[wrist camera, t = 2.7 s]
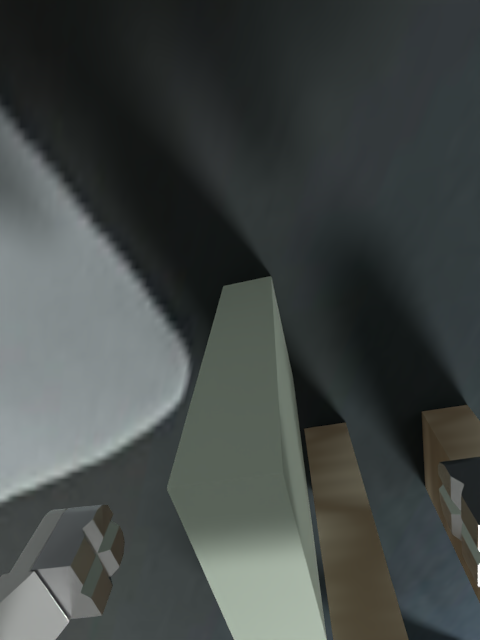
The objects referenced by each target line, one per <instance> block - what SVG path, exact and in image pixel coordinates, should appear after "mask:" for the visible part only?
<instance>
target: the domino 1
mask: <svg viewBox="0 0 480 640" xmlns="http://www.w3.org/2000/svg"><path fill="white" fill-rule="evenodd" d="M167 490H168V492H169V495H170V497H171V499H172V501H173V504H174V506H175V508H176V510H177V513H178V515H179V517H180V519H181V522H182V524H183V526H184V528H185V531H186V533H187V535H188V537H189V540H190V542H191V544H192V546H193V548H194V551H195V553H196V555H197V557H198V560H199V562H200V564H201V566H202V569H203V571H204V573H205V575H206V578H207V580H208V582H209V584H210V587H211V589H212V591H213V593H214V596H215V598H216V600H217V602H218V605H219V607H220V609H221V611H222V614H223V616H224V618H225V620H226V623H227V625H228V627H229V629H230V632H231V634H232V636H233V638H234V640H327V639H326V631H325V623H324V615H323V607H322V599H321V592H320V584H319V576H318V568H317V560H316V552H315V545H314V537H313V529H312V521H311V513H310V505H309V498H308V490H307V482H306V474H305V466H304V459H303V451H302V443H301V435H300V427H299V419H298V412H297V404H296V396H295V388H294V380H293V375H292V370H291V365H290V361H289V356H288V352H287V347H286V342H285V338H284V333H283V328H282V324H281V319H280V315H279V310H278V305H277V301H276V296H275V291H274V287H273V282H272V278H271V276H269V277H264V278H259V279H255V280H250V281H245V282H240V283H236V284H231V285H226V286H223V289H222V293H221V296H220V300H219V303H218V307H217V311H216V314H215V318H214V321H213V325H212V328H211V332H210V336H209V339H208V343H207V346H206V350H205V353H204V357H203V361H202V364H201V368H200V371H199V375H198V379H197V382H196V386H195V389H194V393H193V396H192V400H191V404H190V407H189V411H188V414H187V418H186V421H185V425H184V429H183V432H182V436H181V439H180V443H179V447H178V450H177V454H176V457H175V461H174V464H173V468H172V472H171V475H170V479H169V482H168V486H167Z"/></svg>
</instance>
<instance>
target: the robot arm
mask: <svg viewBox="0 0 480 640" xmlns="http://www.w3.org/2000/svg"><path fill="white" fill-rule="evenodd" d="M438 475H439V477H440V479H441V481H442V483H443V485H442V486H441V487H440V488H439V497H440V503H441V507H442V511H443V515H444V517H445V520H446V522H447V525H448V527H449V529H450V531H451V533H452V535H454V536H455V537H457V538H458V539H459V540H461V541H462V556H463V558H464V560H465V562H466V564H467V566H468V568H469V570H470V572H471V574H472V576H473V578H474V580H475V582H476V584H477V586H478V587H480V457H473V458H465V459H458V460H451V461H444V462H439V465H438ZM112 516H113V513H112V511H111V510H110V508H109V506H108V505H97V506H87V507H76V508H68V509H59V510H51V511H50V512H49V513H47V514H46V515H45V516H44V518H43V519H42V521H41V523H40V524H39V526H38V528H37V529H36V531H35V533H34V534H33V536H32V537H31V539H30V541H29V542H28V544H27V546H26V547H25V549H24V550H23V552H22V554H21V555H20V557H19V559H18V560H17V562H16V563H15V565H14V567H13V568H12V570H11V572H10V573H9V574H3V575H2V576H1V577H0V640H55V639H56V638H57V637H58V635H59V634H60V633H61V632H62V630H63V629H64V628H65V627H66V625H67V624H68V623H69V619H75V618H84V617H93V616H102V614H103V612H104V609H105V606H106V603H107V600H108V598H109V595H110V592H111V589H112V586H113V584H112V581H111V577H110V576H111V575H112V574H113V573H114V572H115V571H116V570H117V569H118V568H119V567H120V563H121V560H122V557H123V554H124V537H123V532H122V530H121V528H120V526H119V525H117V524H115V523H114V522H112V521H111V518H112Z"/></svg>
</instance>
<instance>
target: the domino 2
mask: <svg viewBox="0 0 480 640" xmlns="http://www.w3.org/2000/svg"><path fill="white" fill-rule="evenodd" d="M304 431H305V438H306V446H307V453H308V460H309V467H310V474H311V482H312V489H313V496H314V503H315V511H316V518H317V525H318V532H319V539H320V547H321V554H322V561H323V568H324V575H325V583H326V590H327V597H328V604H329V611H330V619H331V626H332V633H333V640H409V639H408V636H407V633H406V629H405V626H404V622H403V619H402V615H401V612H400V608H399V605H398V602H397V598H396V595H395V591H394V588H393V584H392V581H391V577H390V574H389V571H388V567H387V564H386V560H385V557H384V553H383V550H382V546H381V543H380V539H379V536H378V533H377V529H376V526H375V522H374V519H373V515H372V512H371V508H370V505H369V502H368V498H367V495H366V491H365V488H364V484H363V481H362V477H361V474H360V471H359V467H358V464H357V460H356V457H355V453H354V450H353V446H352V443H351V440H350V436H349V433H348V429H347V426H346V423H339V424H332V425H325V426H318V427H312V428H305V429H304Z"/></svg>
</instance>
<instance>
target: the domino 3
mask: <svg viewBox="0 0 480 640" xmlns="http://www.w3.org/2000/svg"><path fill="white" fill-rule="evenodd" d="M422 430H423V450H424V470H425V487H426V489H427V492H428V494H429V496H430V498H431V500H432V502H433V504H434V506H435V509H436V511H437V513H438V515H439V517H440V519H441V521H442V523H443V526H444V528H445V530H446V532H447V534H448V536H449V538H450V541H451V543H452V545H453V547H454V549H455V551H456V553H457V555H458V558H459V560H460V562H461V564H462V566H463V568H464V570H465V572H466V575H467V577H468V579H469V581H470V583H471V585H472V587H473V589H474V592H475V594H476V596H477V598H478V600H479V602H480V587H478V586H477V584H476V582H475V580H474V578H473V576H472V574H471V572H470V570H469V568H468V566H467V564H466V562H465V560H464V558H463V556H462V541H461V540H459V539H458V538H457V537H455V536H454V535H452V533H451V531H450V529H449V527H448V525H447V522H446V520H445V517H444V515H443V511H442V507H441V503H440V497H439V488H440V487H441V486H442V485H443V483H442V481H441V479H440V477H439V475H438V465H439V462H444V461H451V460H458V459H465V458H473V457H480V421H479V420H478V418H477V417H476V416H475V414H474V413H473V412H472V411H471V409H470V408H469V407H468V405H463V406H456V407H449V408H442V409H435V410H428V411H422Z"/></svg>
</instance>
